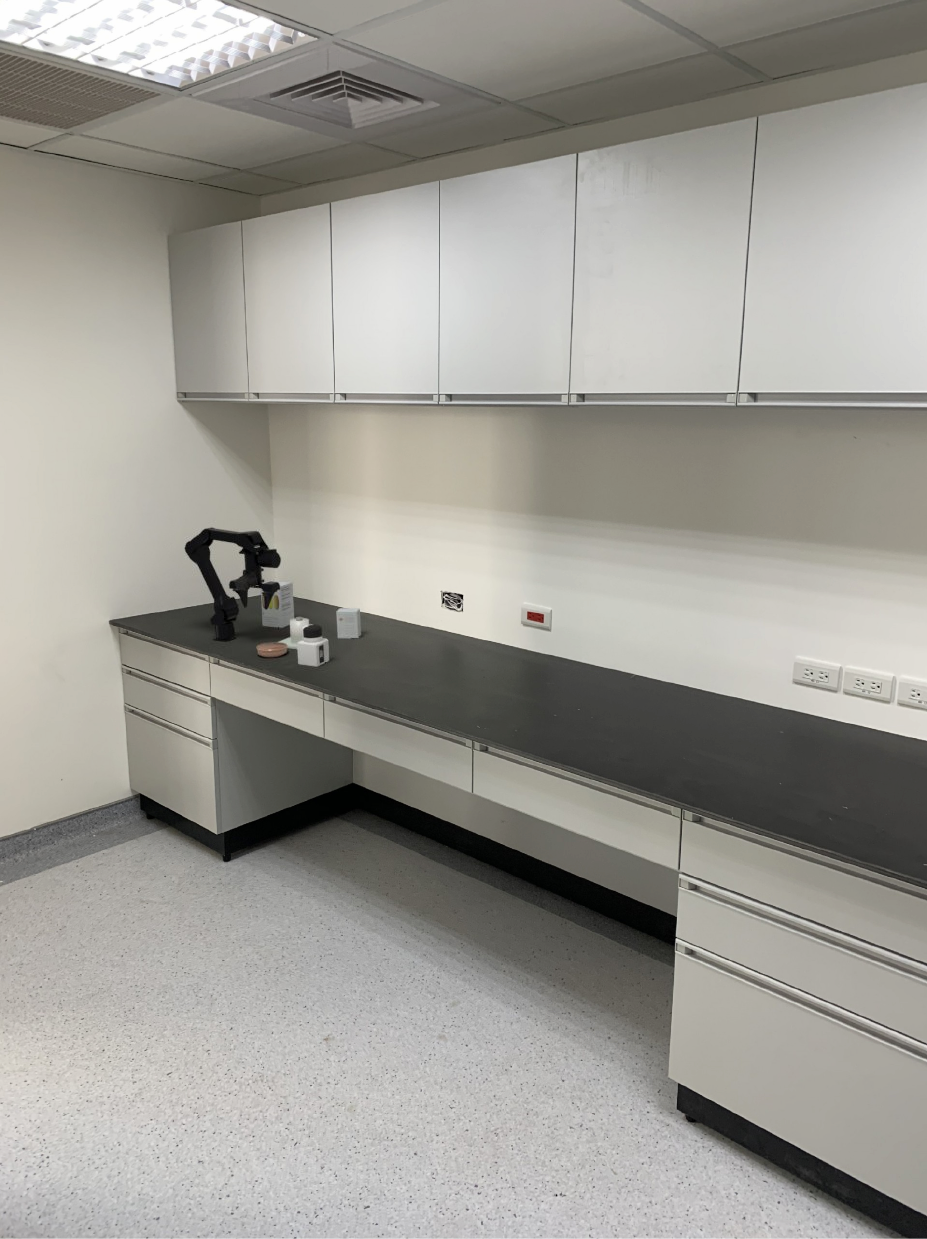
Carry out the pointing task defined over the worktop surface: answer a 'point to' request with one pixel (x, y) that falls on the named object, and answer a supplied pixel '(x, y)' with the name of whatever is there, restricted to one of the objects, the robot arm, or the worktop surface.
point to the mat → (289, 644)
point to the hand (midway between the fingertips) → (255, 608)
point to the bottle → (297, 629)
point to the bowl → (272, 649)
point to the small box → (348, 623)
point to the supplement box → (279, 606)
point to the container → (312, 647)
